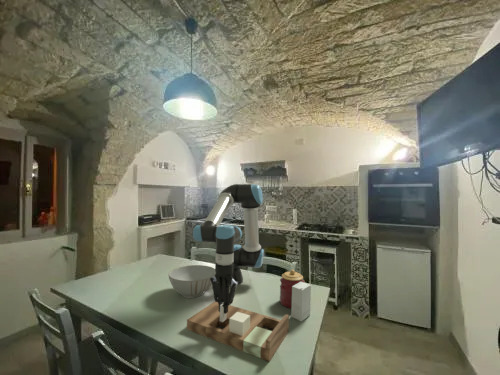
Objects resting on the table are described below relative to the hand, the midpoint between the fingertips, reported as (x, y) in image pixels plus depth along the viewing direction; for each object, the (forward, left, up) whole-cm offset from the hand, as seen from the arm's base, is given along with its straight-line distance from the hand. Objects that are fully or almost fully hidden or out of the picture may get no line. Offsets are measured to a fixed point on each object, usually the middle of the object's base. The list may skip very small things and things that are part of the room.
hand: (223, 320), depth 97 cm
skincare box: (+24, +30, -6) cm, 39 cm away
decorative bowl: (-37, +23, -6) cm, 43 cm away
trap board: (+4, +5, -5) cm, 8 cm away
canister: (+16, +41, -6) cm, 44 cm away
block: (+8, 0, -1) cm, 8 cm away
